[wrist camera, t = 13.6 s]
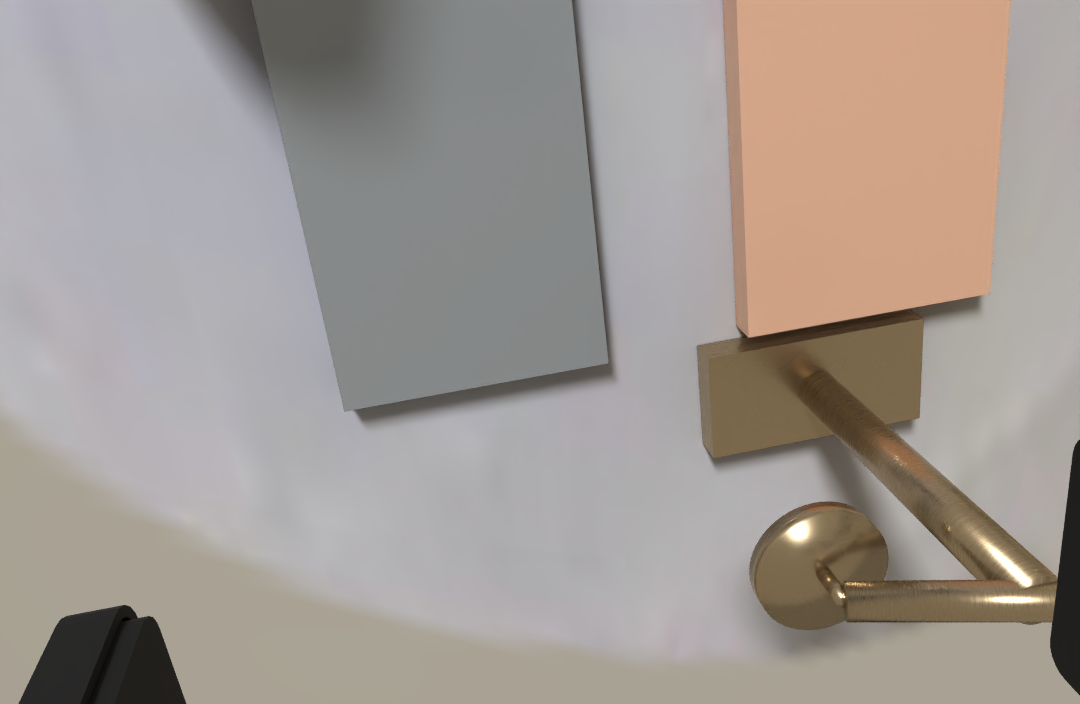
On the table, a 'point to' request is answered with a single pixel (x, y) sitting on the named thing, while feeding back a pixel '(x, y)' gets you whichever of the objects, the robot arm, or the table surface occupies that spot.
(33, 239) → the table surface
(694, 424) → the table surface
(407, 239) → the slate mat
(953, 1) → the terracotta mat
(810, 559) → the balance
